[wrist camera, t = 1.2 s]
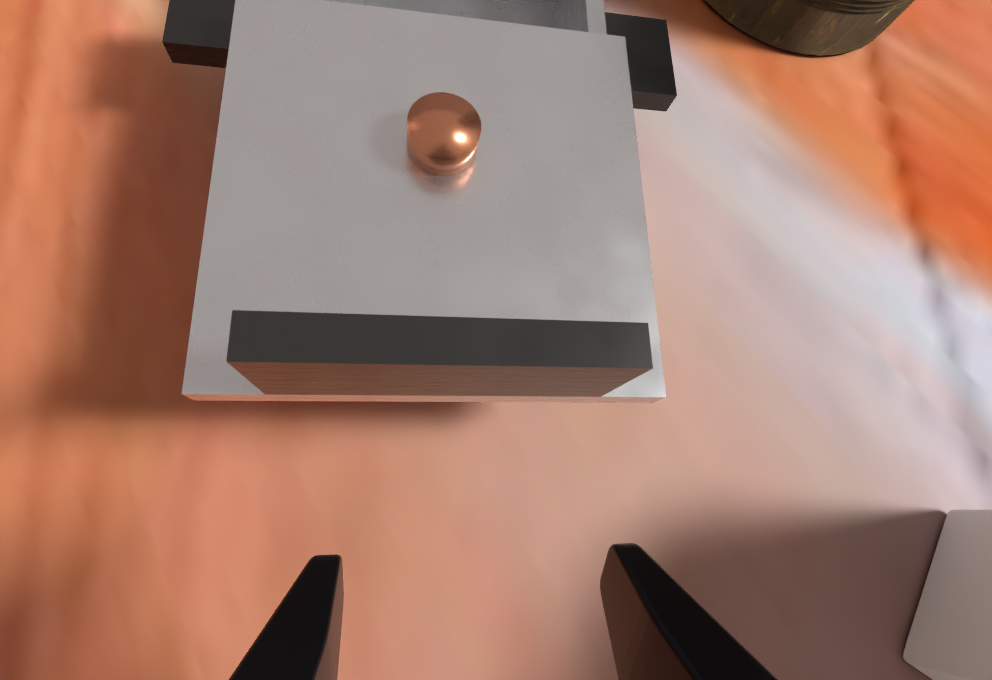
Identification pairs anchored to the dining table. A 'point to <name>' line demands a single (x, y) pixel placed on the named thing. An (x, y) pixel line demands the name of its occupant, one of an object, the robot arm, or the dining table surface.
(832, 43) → the apothecary jar
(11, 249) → the dining table surface
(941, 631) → the milk carton
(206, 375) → the lid
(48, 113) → the dining table surface
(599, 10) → the grey recessed tray
